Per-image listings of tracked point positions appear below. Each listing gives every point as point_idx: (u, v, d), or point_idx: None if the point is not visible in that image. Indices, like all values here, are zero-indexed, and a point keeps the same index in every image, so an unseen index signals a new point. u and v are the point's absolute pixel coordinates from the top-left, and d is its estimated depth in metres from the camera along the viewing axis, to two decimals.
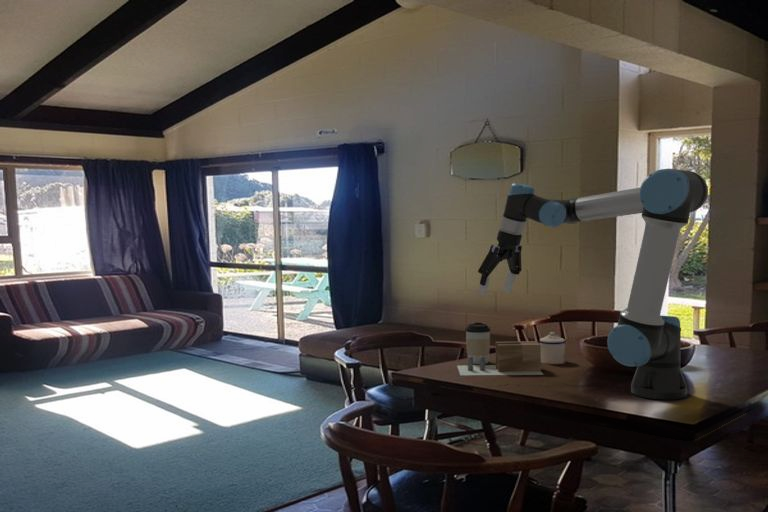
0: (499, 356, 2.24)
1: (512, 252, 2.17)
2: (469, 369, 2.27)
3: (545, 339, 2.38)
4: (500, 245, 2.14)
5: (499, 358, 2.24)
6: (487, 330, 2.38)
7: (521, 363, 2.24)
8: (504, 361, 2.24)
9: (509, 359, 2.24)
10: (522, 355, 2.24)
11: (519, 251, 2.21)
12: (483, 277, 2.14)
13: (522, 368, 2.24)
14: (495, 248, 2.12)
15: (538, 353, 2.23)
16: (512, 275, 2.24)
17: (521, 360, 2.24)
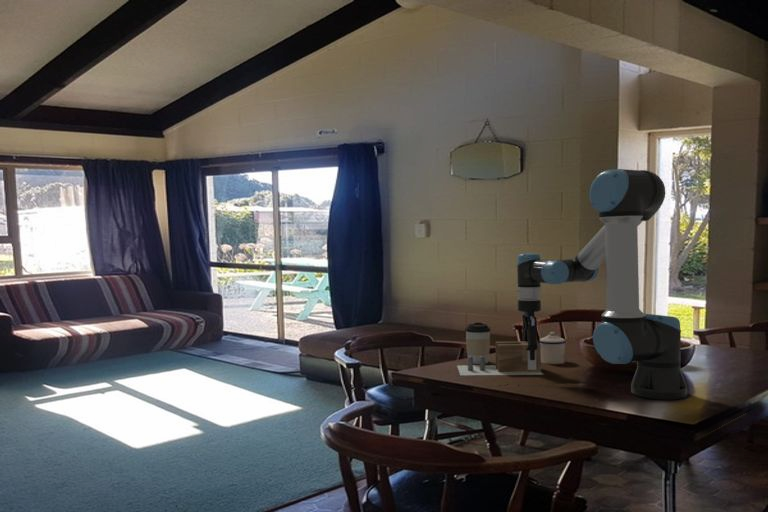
0: (499, 356, 2.24)
1: None
2: (469, 369, 2.27)
3: (545, 339, 2.38)
4: (531, 314, 2.23)
5: (499, 358, 2.24)
6: (487, 330, 2.38)
7: (521, 363, 2.24)
8: (504, 361, 2.24)
9: (509, 359, 2.24)
10: (522, 355, 2.24)
11: None
12: (533, 352, 2.22)
13: (522, 368, 2.24)
14: (535, 321, 2.20)
15: (538, 353, 2.23)
16: None
17: (521, 360, 2.24)
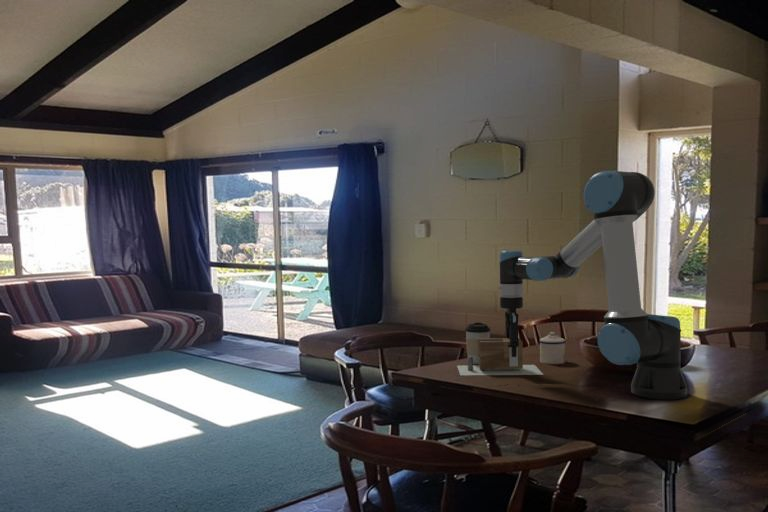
0: (481, 353, 2.24)
1: None
2: (469, 369, 2.27)
3: (545, 339, 2.38)
4: (513, 311, 2.23)
5: (481, 355, 2.24)
6: (487, 330, 2.38)
7: (503, 360, 2.24)
8: (486, 358, 2.24)
9: (490, 356, 2.24)
10: (504, 352, 2.24)
11: None
12: (514, 349, 2.22)
13: (504, 365, 2.24)
14: (516, 318, 2.20)
15: (520, 350, 2.24)
16: None
17: (503, 357, 2.24)
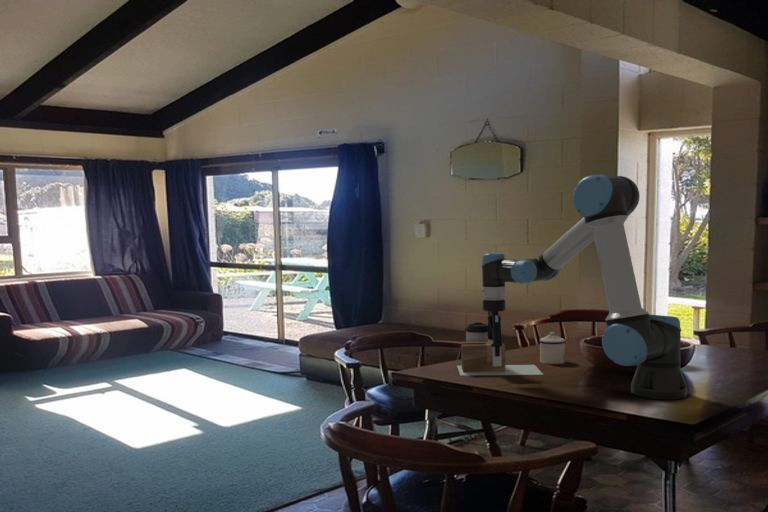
0: (464, 356, 2.24)
1: None
2: None
3: (545, 339, 2.38)
4: (495, 314, 2.23)
5: (464, 358, 2.24)
6: (487, 330, 2.38)
7: (486, 363, 2.24)
8: (469, 361, 2.24)
9: (473, 360, 2.24)
10: (487, 355, 2.24)
11: None
12: (498, 348, 2.19)
13: (487, 368, 2.24)
14: (498, 317, 2.20)
15: (503, 353, 2.24)
16: None
17: (486, 360, 2.24)
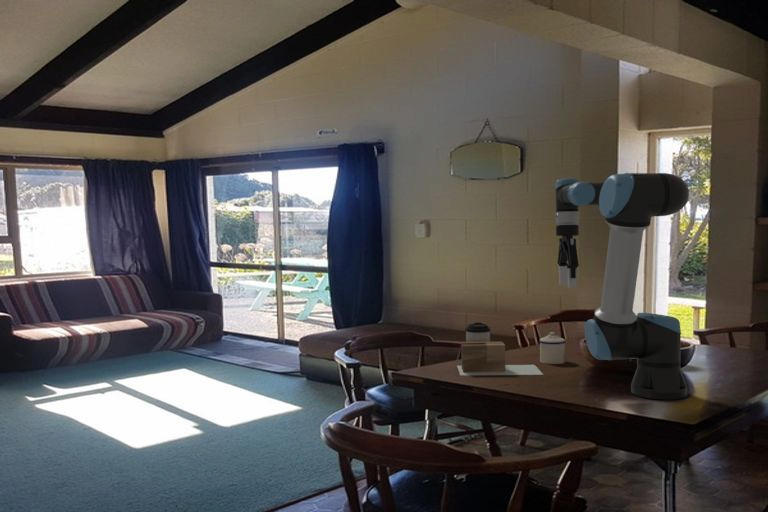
0: (464, 356, 2.24)
1: None
2: None
3: (545, 339, 2.38)
4: (570, 238, 2.26)
5: (464, 358, 2.24)
6: (487, 330, 2.38)
7: (486, 363, 2.24)
8: (469, 361, 2.24)
9: (473, 360, 2.24)
10: (487, 355, 2.24)
11: None
12: (574, 270, 2.22)
13: (487, 368, 2.24)
14: (574, 240, 2.23)
15: (503, 353, 2.24)
16: (565, 267, 2.37)
17: (486, 360, 2.24)
